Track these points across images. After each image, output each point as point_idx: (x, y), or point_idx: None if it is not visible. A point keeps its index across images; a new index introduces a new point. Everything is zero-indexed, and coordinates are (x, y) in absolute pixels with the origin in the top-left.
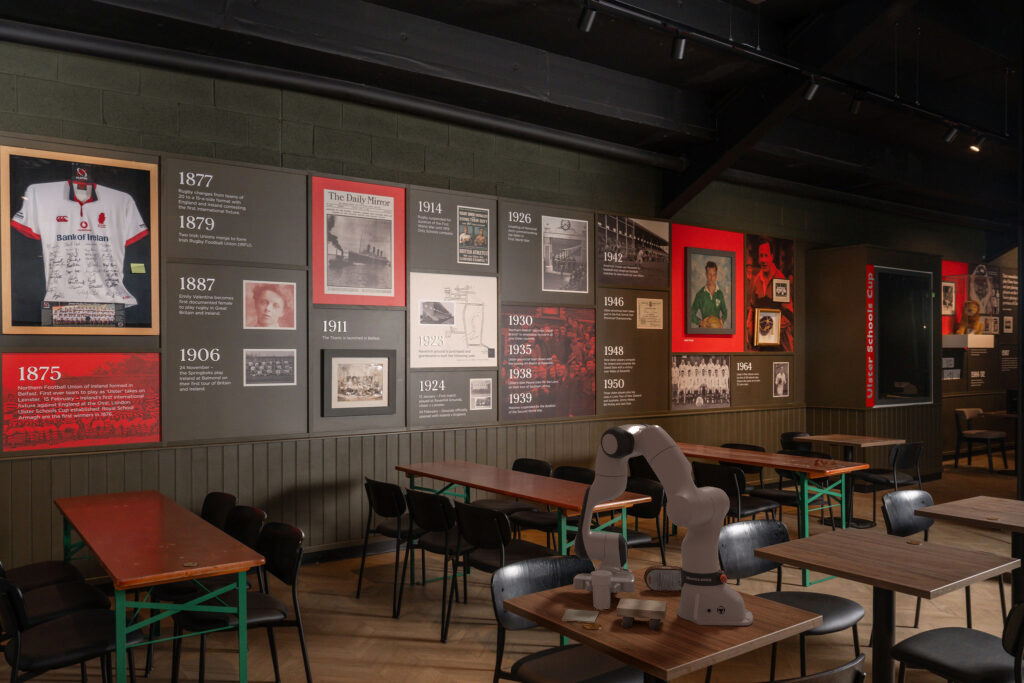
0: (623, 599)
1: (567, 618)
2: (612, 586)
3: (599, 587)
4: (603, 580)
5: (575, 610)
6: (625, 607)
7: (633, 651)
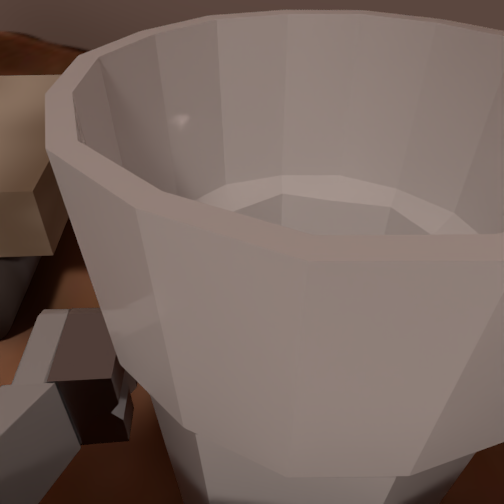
0: (9, 175)
1: None
2: (99, 343)
3: (305, 216)
4: (239, 102)
5: None
6: (33, 83)
7: (68, 63)
